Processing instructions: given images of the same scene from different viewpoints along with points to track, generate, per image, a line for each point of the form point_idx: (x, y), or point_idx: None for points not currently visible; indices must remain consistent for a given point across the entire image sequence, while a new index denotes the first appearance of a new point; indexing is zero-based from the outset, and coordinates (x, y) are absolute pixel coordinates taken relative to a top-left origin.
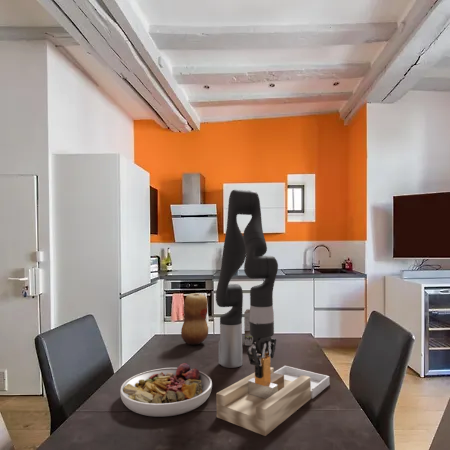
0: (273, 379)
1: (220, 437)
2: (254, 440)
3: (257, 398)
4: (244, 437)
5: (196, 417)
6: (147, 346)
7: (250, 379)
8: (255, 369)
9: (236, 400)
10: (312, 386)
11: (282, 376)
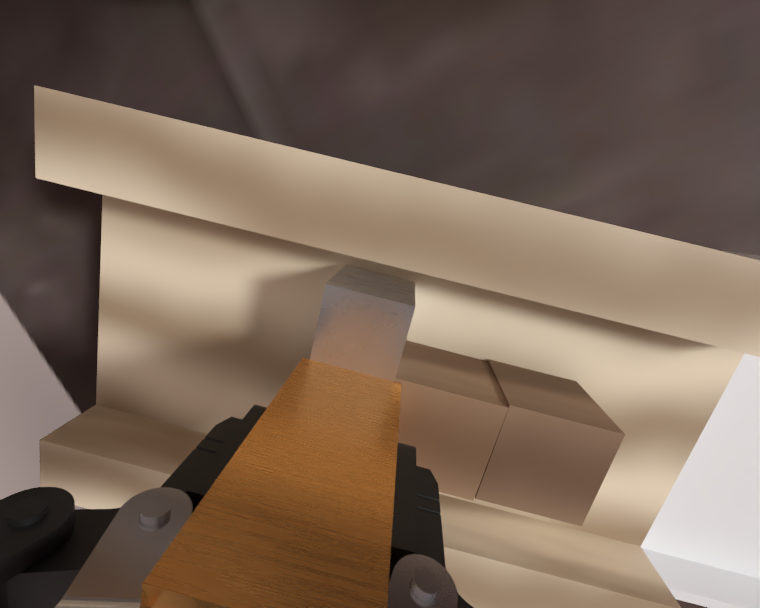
0: (451, 471)
1: (27, 239)
2: (95, 382)
3: (308, 344)
4: (90, 338)
5: (101, 4)
6: None
7: (361, 294)
8: (181, 470)
9: (215, 225)
10: (742, 529)
11: (553, 517)
